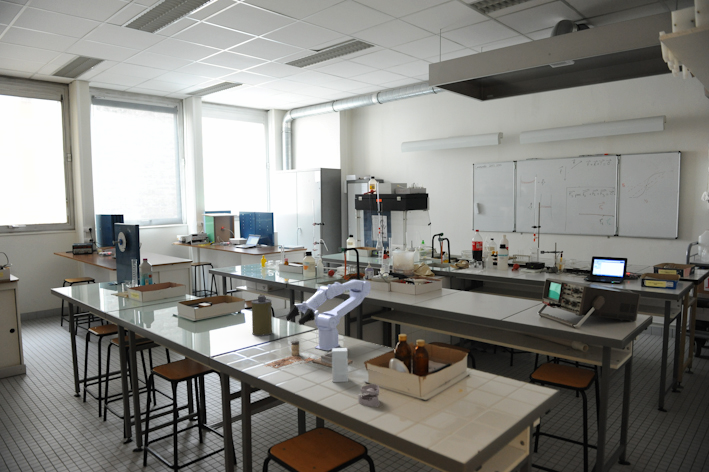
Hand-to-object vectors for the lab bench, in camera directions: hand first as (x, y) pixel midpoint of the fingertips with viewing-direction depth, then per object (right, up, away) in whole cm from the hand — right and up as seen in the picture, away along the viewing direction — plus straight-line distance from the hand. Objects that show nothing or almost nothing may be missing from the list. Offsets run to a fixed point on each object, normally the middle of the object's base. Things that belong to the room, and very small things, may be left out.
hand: (293, 320), depth 204 cm
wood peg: (0, -16, +6) cm, 18 cm away
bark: (-1, -18, -4) cm, 18 cm away
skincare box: (+21, -18, -24) cm, 37 cm away
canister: (-22, -14, +43) cm, 50 cm away
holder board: (+17, -17, -4) cm, 25 cm away
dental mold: (+32, -20, -45) cm, 59 cm away
